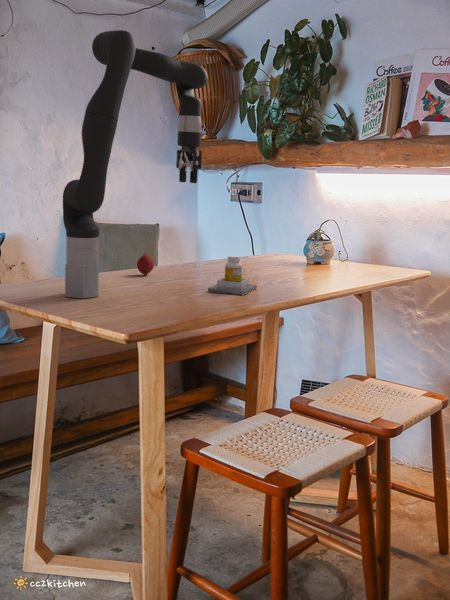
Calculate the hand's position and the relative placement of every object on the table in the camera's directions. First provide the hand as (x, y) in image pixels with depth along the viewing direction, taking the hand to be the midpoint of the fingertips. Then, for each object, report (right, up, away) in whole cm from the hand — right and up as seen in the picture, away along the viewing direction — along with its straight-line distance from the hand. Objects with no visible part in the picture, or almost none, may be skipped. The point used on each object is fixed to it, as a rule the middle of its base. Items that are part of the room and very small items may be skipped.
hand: (187, 182), depth 221 cm
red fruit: (-16, -30, +19) cm, 39 cm away
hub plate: (+14, -35, -3) cm, 38 cm away
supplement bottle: (+14, -34, -3) cm, 37 cm away
